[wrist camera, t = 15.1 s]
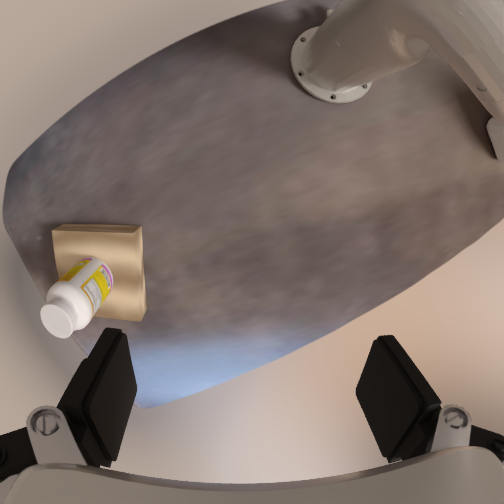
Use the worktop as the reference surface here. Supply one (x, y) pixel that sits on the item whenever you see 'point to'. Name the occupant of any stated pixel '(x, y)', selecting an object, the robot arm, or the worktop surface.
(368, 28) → the robot arm
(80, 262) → the supplement bottle
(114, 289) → the block
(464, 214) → the worktop surface
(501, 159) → the soap bottle
